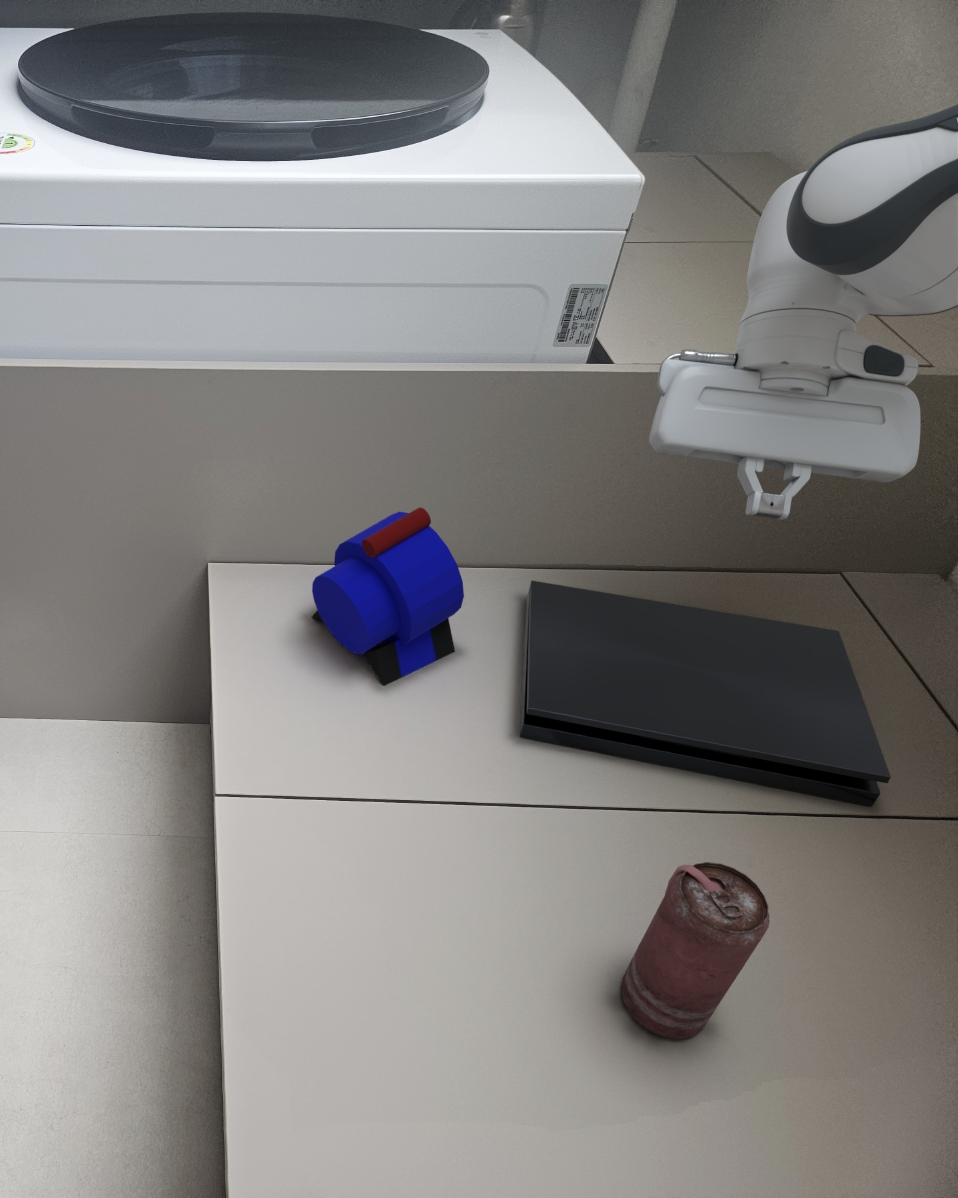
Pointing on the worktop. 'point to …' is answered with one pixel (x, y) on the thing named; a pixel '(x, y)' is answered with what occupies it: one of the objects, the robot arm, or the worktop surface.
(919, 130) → the robot arm
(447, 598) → the alarm clock
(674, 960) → the can
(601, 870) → the worktop surface
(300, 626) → the worktop surface
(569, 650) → the laptop screen
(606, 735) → the laptop
